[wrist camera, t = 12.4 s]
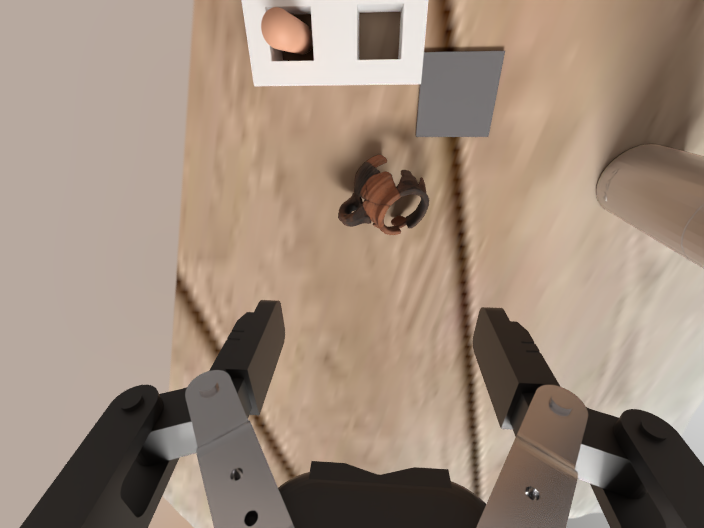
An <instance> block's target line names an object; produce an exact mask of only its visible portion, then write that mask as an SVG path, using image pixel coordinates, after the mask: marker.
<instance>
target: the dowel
mask: <svg viewBox="0 0 704 528" xmlns="http://www.w3.org/2000/svg"><path fill="white" fill-rule="evenodd" d="M261 31H262V35H263V37H264V39H265V41H266V42H267V43H268V44H269V45H270V46H271V47H273V48H275V49H278V50H283V51H287V52H292V53H296V54H306V53H308V52H309V51H310V50H311V49H312V47H313V37H312V30H311V28H310V27H309V26H308V25H306V24H305V23H303V22H302V21H300V20H299V19H297V18H296V17H294V16H293V15H291V14H290V13H288V12H287V11H285V10H284V9H282V8H279V7H273V8H271V9H269V10H267V11H266V12H265V14H264V16H263V18H262V21H261Z"/></svg>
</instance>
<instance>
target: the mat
mask: <svg viewBox="0 0 704 528" xmlns="http://www.w3.org/2000/svg"><path fill="white" fill-rule="evenodd" d="M504 54H505V51H470V52H424V56H423V68H422V79H421V84H420V92H419V104H418V115H417V127H416V137H488V136H489V131H490V126H491V121H492V115H493V110H494V105H495V100H496V95H497V90H498V85H499V80H500V74H501V69H502V64H503V59H504Z"/></svg>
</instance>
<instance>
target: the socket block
mask: <svg viewBox="0 0 704 528" xmlns="http://www.w3.org/2000/svg"><path fill="white" fill-rule="evenodd" d="M242 7H243V14H244V21H245V27H246V34H247V41H248V48H249V54H250V61H251V68H252V75H253V81H254V86H311V85H395V84H421V79H422V68H423V56H424V44H425V33H426V21H427V9H428V0H242ZM273 7H279V8H282V9H284V10H285V11H287V12H288V13H290V14H311V20H312V37H313V53H314V61H283V54H282V50H278V49H275V48H273V47H271V46H270V45H269V44H268V43H267V42H266V41H265V39H264V37H263V35H262V31H261V21H262V18H263V16H264V14H265V12H266V11H267V10H269V9H271V8H273ZM367 12H401V16H400V35H399V54H398V59H387V60H359V13H367Z"/></svg>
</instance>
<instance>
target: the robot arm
mask: <svg viewBox="0 0 704 528" xmlns="http://www.w3.org/2000/svg"><path fill="white" fill-rule="evenodd" d="M596 195H597V199H598V202H599V203H600V205H601V206H602V207H603V208H604V209H605V210H607V211H609V212H610V213H612V214H614V215H615V216H617V217H619V218H620V219H622V220H623V221H625V222H627V223H628V224H630V225H632V226H633V227H635V228H637V229H638V230H640V231H642V232H643V233H645V234H647V235H648V236H650V237H652V238H653V239H655V240H657V241H658V242H660V243H662V244H663V245H665V246H667V247H668V248H670V249H672V250H673V251H675V252H677V253H678V254H680V255H682V256H683V257H685V258H687V259H688V260H690V261H692V262H693V263H695V264H697V265H699V266H700V267H702V268H704V156H701V155H697V154H693V153H689V152H686V151H682V150H678V149H674V148H670V147H666V146H662V145H658V144H646V145H640V146H637V147H634V148H631V149H629V150H627V151H626V152H624V153H622V154H621V155H619V156H618V157H617V158H615V159H614V160H613V161H612V162H611V163H610V164H609V165H608V166H607V167H606V169H605V170H604V171H603V173H602V175H601V177H600V179H599V181H598V185H597V191H596ZM284 339H285V327H284V321H283V314H282V308H281V303H280V301H271V300H261V301H260V302H259V303H258V305H257V307H256V309H255V311H254V312H247V313H246V314H244V315H243V316H242V317H241V318H240V319H239V320H237V322H236V324H235V326H234V327H233V329H232V332H231V333H230V335H229V336H228V338H227V340H226V342H225V344H224V345H223V347H222V349H221V351H220V353H219V354H218V356H217V358H216V360H215V362H214V363H213V365H212V367H211V369H210V370H209V371H208V372H205V373H203V374H201V375H199V376H197V377H196V378H195V379H193V380H192V382H191V383H190V384H189V385H188V387H187V388H184V389H180V390H175V391H171V392H166V393H162V394H159V393H158V391H157V389H156V388H155V387H153V386H151V385H139V386H136V387H133V388H130V389H128V390H126V391H125V392H123V393H121V394H120V395H119V396H117V397H116V398H115V399H114V400H113V401H112V402H111V404H110V405H109V406H108V408H107V409H106V411H105V412H104V413H103V415H102V416H101V417H100V419H99V420H98V422H97V423H96V424H95V426H94V427H93V428H92V430H91V431H90V432H89V434H88V435H87V436H86V438H85V439H84V441H83V442H82V443H81V445H80V446H79V447H78V449H77V450H76V451H75V453H74V454H73V456H72V457H71V458H70V460H69V461H68V462H67V464H66V465H65V466H64V468H63V469H62V471H61V472H60V473H59V475H58V476H57V477H56V479H55V480H54V482H53V483H52V484H51V486H50V487H49V488H48V490H47V491H46V492H45V494H44V495H43V497H42V498H41V499H40V501H39V502H38V503H37V505H36V506H35V507H34V509H33V510H32V512H31V513H30V514H29V516H28V517H27V518H26V520H25V521H24V522H23V524H22V525H21V527H20V528H148V526H149V524H150V522H151V519H152V517H153V515H154V513H155V511H156V508H157V506H158V504H159V502H160V499H161V497H162V495H163V493H164V491H165V488H166V486H167V484H168V482H169V480H170V477H171V475H172V473H173V471H174V468H175V466H176V464H177V462H178V460H179V458H180V457H183V456H187V455H191V454H194V453H197V458H198V462H199V466H200V470H201V475H202V479H203V483H204V487H205V491H206V496H207V500H208V504H209V508H210V512H211V516H212V521H213V525H214V528H566V524H567V520H568V516H569V512H570V508H571V504H572V500H573V496H574V492H575V488H576V483H577V479H579V480H582V481H585V482H588V483H590V485H591V487H592V489H593V491H594V493H595V496H596V498H597V500H598V502H599V504H600V506H601V509H602V511H603V513H604V515H605V517H606V519H607V521H608V524H609V526H610V528H704V466H703V464H702V463H701V462H700V460H699V459H698V458H697V457H696V455H695V454H694V453H693V451H692V450H691V449H690V448H689V446H688V445H687V444H686V443H685V441H684V440H683V438H682V437H681V436H680V435H679V433H678V432H677V431H676V430H675V429H674V428H673V427H672V426H671V425H669V424H668V423H667V422H665V421H664V420H662V419H661V418H659V417H657V416H655V415H653V414H651V413H649V412H646V411H642V410H637V409H630V410H626V411H624V412H623V413H622V415H621V416H620V418H618V417H615V416H611V415H608V414H605V413H601V412H598V411H595V410H592V409H589V408H587V407H586V406H585V405H584V403H583V402H582V401H581V400H580V399H579V398H578V397H577V396H576V395H575V394H573V393H572V392H570V391H569V390H567V389H565V388H562V387H560V385H559V383H558V382H557V380H556V378H555V377H554V375H553V373H552V371H551V370H550V368H549V366H548V365H547V363H546V361H545V360H544V358H543V356H542V354H541V353H539V349H538V348H537V346H536V344H534V341H533V339H532V337H531V336H530V334H529V332H528V331H527V330H526V329H525V328H524V327H522V326H521V325H520V324H519V323H518V322H512V321H510V320H509V318H508V317H507V315H506V313H505V311H504V309H502V308H484V307H482V308H481V309H480V311H479V315H478V319H477V323H476V327H475V331H474V336H473V349H474V353H475V356H476V359H477V362H478V364H479V367H480V370H481V373H482V376H483V379H484V382H485V384H486V387H487V390H488V393H489V396H490V399H491V402H492V404H493V407H494V410H495V413H496V416H497V419H498V422H499V424H500V427H501V429H512V430H513V431H514V434H515V436H516V438H515V440H514V442H513V445H512V447H511V449H510V452H509V454H508V456H507V458H506V461H505V463H504V465H503V468H502V470H501V472H500V475H499V477H498V479H497V481H496V484H495V486H494V488H493V491H492V493H491V495H490V497H489V500H488V502H487V504H486V503H485V502H484V501H482V500H481V499H480V498H479V497H478V496H476V495H475V494H474V493H473V492H471V491H469V490H468V489H466V488H465V487H463V486H461V485H459V484H456V483H454V482H451V481H450V476H449V471H448V469H432V468H415V467H414V468H409V469H405V470H400V471H396V472H392V473H387V474H383V475H377V474H374V473H371V472H368V471H365V470H363V469H360V468H357V467H354V466H351V465H348V464H346V463H334V462H317V461H312V462H311V468H310V472H308V473H304V474H301V475H299V476H296V477H294V478H292V479H290V480H288V481H287V482H285V483H284V484H283V485H281V486H280V487H279V488H278V487H277V485H276V482H275V480H274V477H273V475H272V473H271V470H270V468H269V465H268V463H267V461H266V458H265V456H264V453H263V451H262V449H261V446H260V444H259V441H258V439H257V437H256V434H255V432H254V429H253V427H252V425H251V423H250V421H248V417H249V415H260V412H261V409H262V406H263V403H264V400H265V397H266V394H267V391H268V388H269V385H270V382H271V379H272V376H273V374H274V371H275V368H276V365H277V362H278V359H279V356H280V353H281V350H282V347H283V344H284Z"/></svg>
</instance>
